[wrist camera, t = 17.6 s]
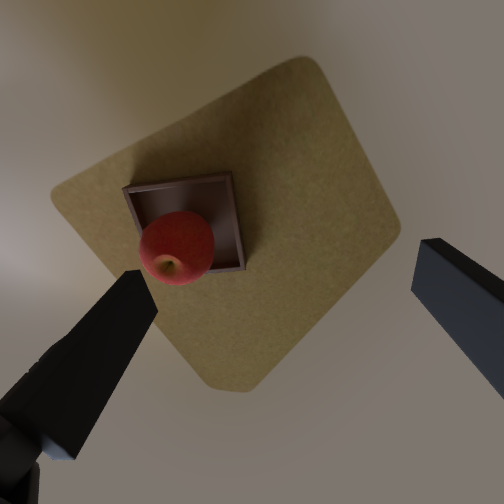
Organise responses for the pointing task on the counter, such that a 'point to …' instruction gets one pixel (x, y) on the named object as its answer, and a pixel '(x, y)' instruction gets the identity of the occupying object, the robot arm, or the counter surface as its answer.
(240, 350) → the counter surface
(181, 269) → the apple
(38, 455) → the robot arm
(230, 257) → the tray
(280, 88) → the counter surface
